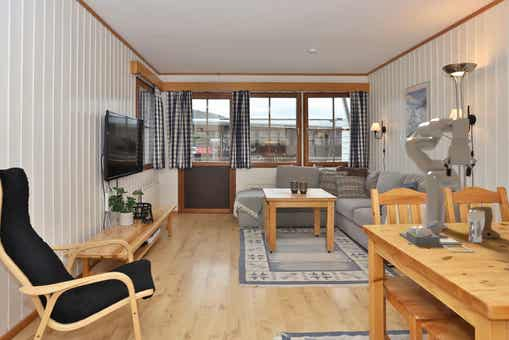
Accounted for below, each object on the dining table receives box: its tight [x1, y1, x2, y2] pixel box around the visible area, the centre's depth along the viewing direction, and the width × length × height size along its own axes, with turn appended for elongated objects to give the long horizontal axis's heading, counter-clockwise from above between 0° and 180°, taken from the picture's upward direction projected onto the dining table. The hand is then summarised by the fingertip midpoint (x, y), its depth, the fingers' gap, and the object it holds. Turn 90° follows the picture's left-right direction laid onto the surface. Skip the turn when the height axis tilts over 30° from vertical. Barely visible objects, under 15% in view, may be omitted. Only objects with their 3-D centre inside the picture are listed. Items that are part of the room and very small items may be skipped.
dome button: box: [416, 225, 431, 236], centre depth 179 cm, size 6×6×6 cm
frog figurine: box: [428, 221, 444, 235], centre depth 189 cm, size 6×7×7 cm
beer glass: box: [467, 209, 485, 244], centre depth 181 cm, size 7×7×15 cm
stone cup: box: [470, 205, 502, 239], centre depth 192 cm, size 15×12×15 cm
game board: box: [398, 225, 475, 253], centre depth 179 cm, size 31×21×5 cm
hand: (458, 176), depth 191 cm, fingers open, 9 cm apart
